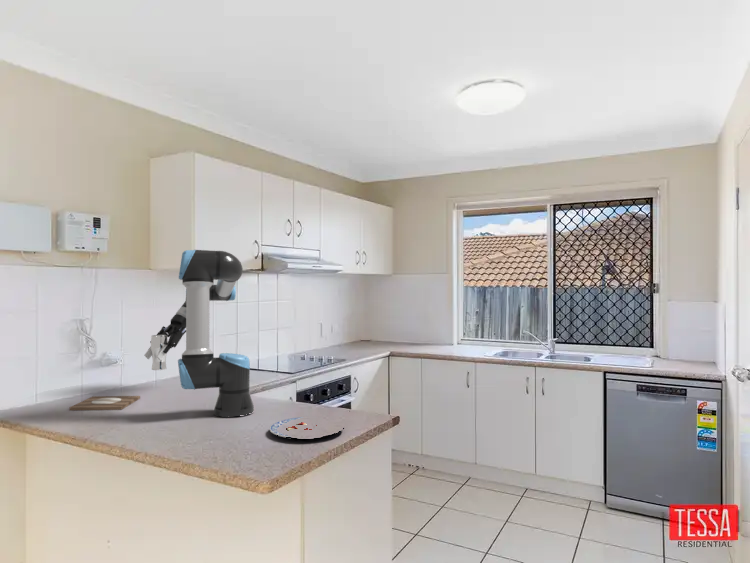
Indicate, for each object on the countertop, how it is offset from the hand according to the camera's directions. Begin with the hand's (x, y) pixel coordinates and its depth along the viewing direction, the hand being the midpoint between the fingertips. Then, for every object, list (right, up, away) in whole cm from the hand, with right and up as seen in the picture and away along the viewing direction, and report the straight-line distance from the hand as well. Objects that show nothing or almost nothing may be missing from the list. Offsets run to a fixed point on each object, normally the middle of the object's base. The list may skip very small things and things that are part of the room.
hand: (152, 357), depth 221 cm
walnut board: (-16, -18, -9) cm, 26 cm away
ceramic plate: (+74, -19, -47) cm, 90 cm away
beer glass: (+2, -6, +3) cm, 7 cm away
